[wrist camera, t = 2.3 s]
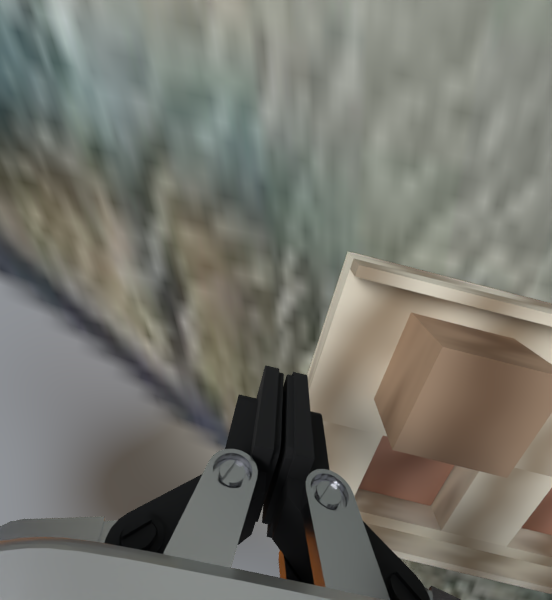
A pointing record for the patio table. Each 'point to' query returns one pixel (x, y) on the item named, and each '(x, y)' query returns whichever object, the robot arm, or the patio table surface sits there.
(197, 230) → the patio table surface
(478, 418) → the walnut block
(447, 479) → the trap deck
